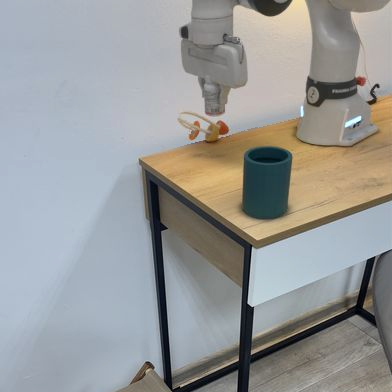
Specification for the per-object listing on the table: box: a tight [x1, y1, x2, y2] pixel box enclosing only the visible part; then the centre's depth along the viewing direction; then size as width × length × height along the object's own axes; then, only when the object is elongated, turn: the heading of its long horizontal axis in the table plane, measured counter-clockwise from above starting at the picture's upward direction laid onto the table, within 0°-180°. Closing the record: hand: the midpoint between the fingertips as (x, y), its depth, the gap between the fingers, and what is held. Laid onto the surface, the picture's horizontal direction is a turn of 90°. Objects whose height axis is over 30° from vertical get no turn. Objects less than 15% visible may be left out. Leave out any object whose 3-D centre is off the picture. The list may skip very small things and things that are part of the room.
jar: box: [241, 145, 294, 220], centre depth 98 cm, size 9×9×11 cm
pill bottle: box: [203, 75, 226, 117], centre depth 113 cm, size 5×5×8 cm
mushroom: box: [177, 110, 230, 142], centre depth 130 cm, size 7×8×15 cm
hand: (214, 100), depth 114 cm, fingers closed on pill bottle, 5 cm apart
